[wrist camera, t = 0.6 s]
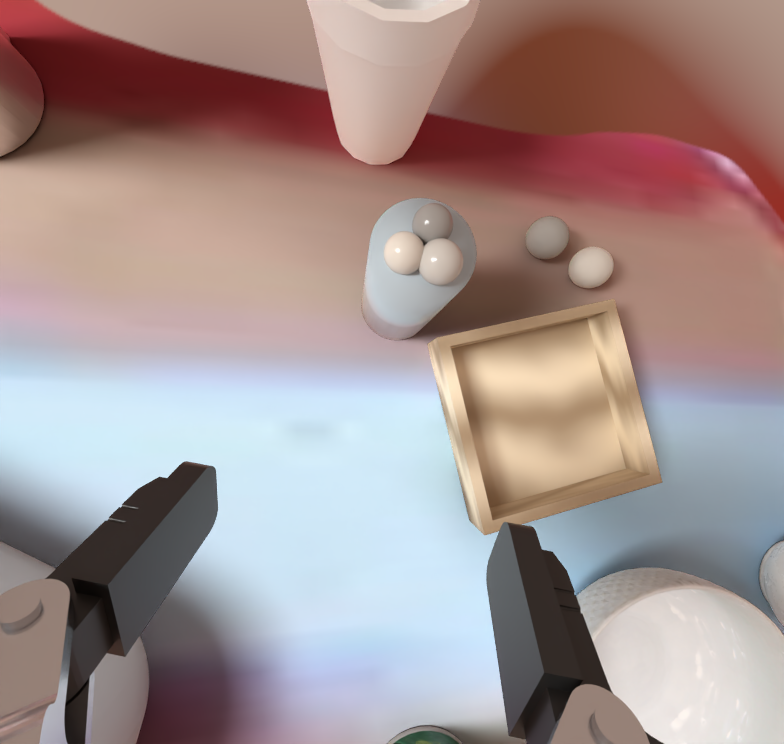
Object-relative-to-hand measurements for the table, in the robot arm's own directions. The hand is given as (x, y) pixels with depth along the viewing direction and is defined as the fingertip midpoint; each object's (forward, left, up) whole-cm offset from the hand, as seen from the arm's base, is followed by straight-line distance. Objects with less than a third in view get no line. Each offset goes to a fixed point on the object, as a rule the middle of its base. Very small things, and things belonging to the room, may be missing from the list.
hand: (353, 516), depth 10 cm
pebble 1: (-12, +19, -18) cm, 29 cm away
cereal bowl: (+21, +17, -18) cm, 33 cm away
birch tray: (+1, +15, -18) cm, 23 cm away
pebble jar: (-9, +6, -18) cm, 21 cm away
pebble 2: (-9, +22, -18) cm, 30 cm away
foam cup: (-24, +8, -18) cm, 31 cm away
